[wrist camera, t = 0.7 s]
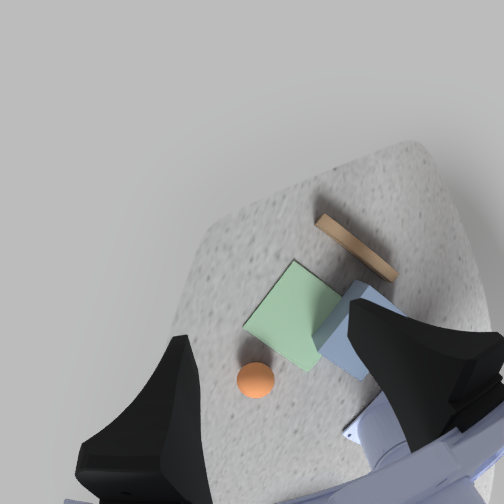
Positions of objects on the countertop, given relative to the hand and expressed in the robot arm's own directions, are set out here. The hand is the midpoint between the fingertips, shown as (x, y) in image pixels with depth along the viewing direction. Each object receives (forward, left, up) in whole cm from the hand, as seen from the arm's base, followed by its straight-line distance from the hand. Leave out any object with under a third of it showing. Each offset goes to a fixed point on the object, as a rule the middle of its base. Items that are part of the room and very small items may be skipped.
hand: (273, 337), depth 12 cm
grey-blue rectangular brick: (-10, -2, -19) cm, 21 cm away
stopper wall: (-5, -8, -19) cm, 21 cm away
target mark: (-5, +1, -19) cm, 19 cm away
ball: (-5, +9, -17) cm, 20 cm away
